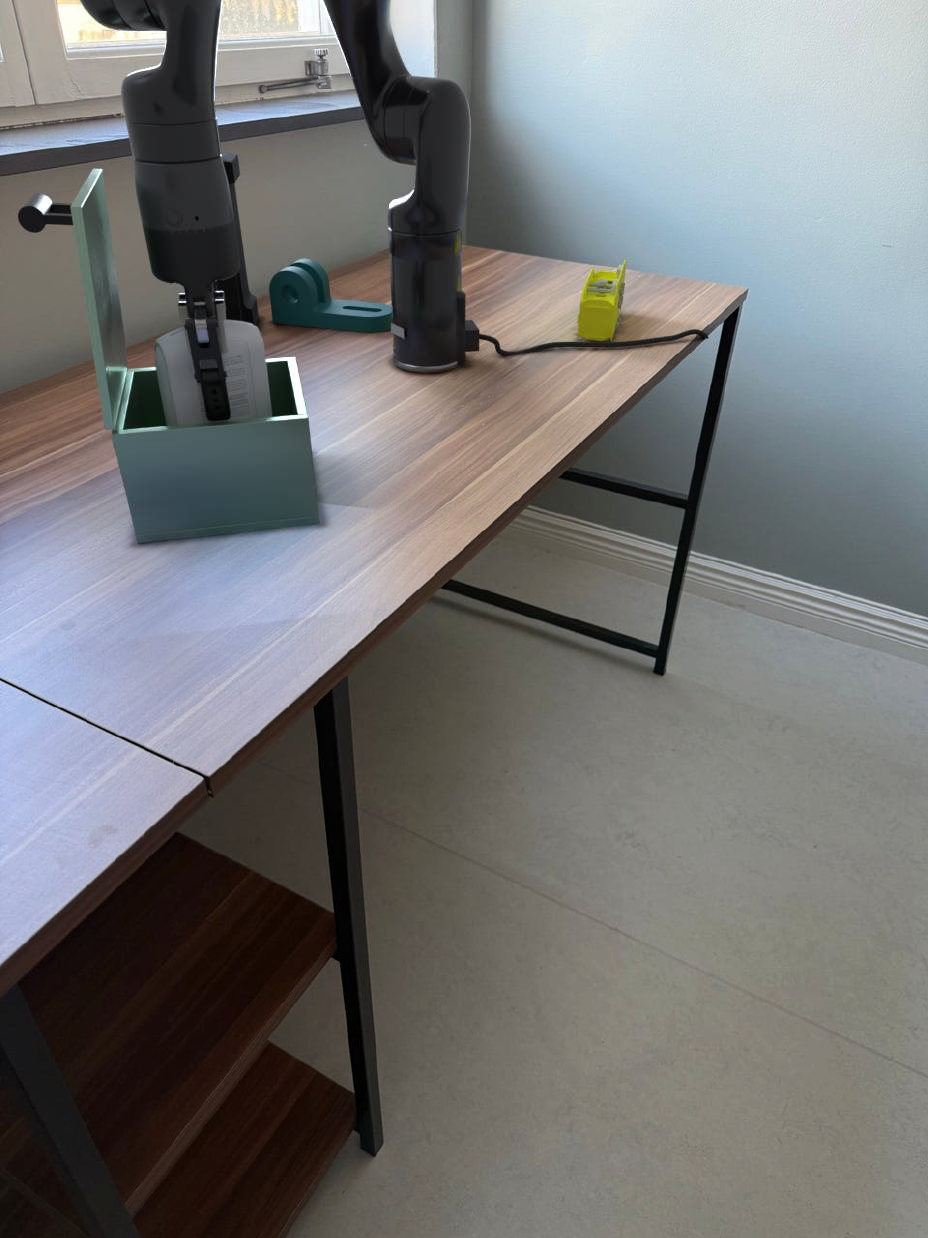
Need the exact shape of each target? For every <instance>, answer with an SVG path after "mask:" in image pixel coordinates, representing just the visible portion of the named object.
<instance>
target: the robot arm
mask: <svg viewBox="0 0 928 1238" xmlns="http://www.w3.org/2000/svg"><path fill="white" fill-rule="evenodd" d="M79 2H80V3H81V5H82V7H83V9H84V10H85V11H86V12H87V13H88V15H89V16H90V17H91V18H92V19H93V20H94V21H95V22H97V23H98V24H100V25H101V26H102V27H105V28H107V29H110V30H114V31H116V32H117V31H118V32H134V33H136V32H138V33H139V32H143V33H144V32H145V33H165V44H164V51H163V55H162V58H161V61H160V63H159V64H158V65H156V66H152V67H148V68H145V69H144V68H143V69H139V70H136V71H134V72H131V73H129V74H128V75H126V76H125V77H124V78H123V80H122V82H121V88H120V95H121V96H120V97H121V104H122V110H123V115H124V116H123V117H124V119H125V122H126V123H125V124H126V129H127V130H126V131H127V134H128V139H129V144H130V150H131V151H130V152H131V155H132V163H133V172H134V188H135V194H136V200H137V205H138V210H139V214H140V219H141V224H142V229H143V230H142V231H143V235H144V241H145V246H146V251H147V256H148V261H149V266H150V271H151V274H152V275H153V277H154V278H156V279H157V280H159V281H161V282H163V283H167V284H177V285H180V286H182V287H183V289H184V292H182V293H178V302H177V309H178V314H179V315H178V316H179V319H180V321H181V322H182V323H183V327H184V329H185V336H186V342H187V349H188V352H189V354H191V355H192V360H193V365H194V370H195V373H194V377H195V379H196V380H197V383H201V389H202V395H203V400H204V406H205V412H206V417H207V419H208V420H209V421H223V420H228V419H230V417H231V411H230V404H229V398H228V392H227V385H226V377H228V375H227V371H225V365H224V358H223V356H224V354H226V353H227V351H228V345H227V338H226V331H225V324H224V321H225V320H226V304H225V297H224V291H217V286H218V283H217V281H218V280H220V281H223V280H226V279H229V278H231V277H233V276H235V275H236V274H237V273H238V271H239V269H240V260H239V253H238V245H237V238H236V231H235V224H234V216H233V209H232V202H231V194H230V188H229V183H228V179H227V175H226V171H225V167H224V163H223V158H222V155H221V153H223V152H222V146H221V140H220V139H221V138H220V132H219V131H220V130H219V123H218V118H217V110H216V104H215V97H216V96H215V94H216V93H215V91H216V89H215V88H216V87H215V86H216V73H217V72H216V71H217V58H218V57H217V56H218V44H219V35H220V26H221V17H222V9H223V0H79ZM391 3H392V0H321V4H322V6H323V8H324V11H325V13H326V16H327V18H328V21H329V23H330V25H331V28H332V30H333V32H334V36H335V38H336V40H337V42H338V44H339V45H338V46H339V47H340V49H341V52H342V55H343V57H344V60H345V63H346V66H347V68H348V71H349V74H350V77H351V81H352V84H353V87H354V90H355V92H356V96H357V99H358V103H359V106H360V108H361V112H362V115H363V118H364V120H365V123H366V126H367V129H368V131H369V134H370V136H371V139H372V141H373V143H374V144H375V146H376V148H377V149H378V151H379V152H380V153H381V154H382V155H383V156H384V157H385V158H386V159H388V160H390V161H391V162H393V163H394V162H395V163H396V164H397V163H398V164H402V165H407V166H414V167H415V172H414V173H415V176H414V185H413V189H412V190H411V191H410V192H409V193H408V194H405V195H402V196H399V197H396V198H394V199H392V200H391V201H390V202H389V204H388V207H387V228H388V229H387V231H388V247H389V248H388V252H389V253H388V254H389V274H390V275H389V278H390V300H391V307H392V323H391V329H390V333H391V334H392V352H393V353H392V361H393V364H394V366H396V367H398V368H399V369H402V370H403V371H404V370H405V371H409V372H414V373H424V374H429V373H430V374H431V373H433V374H434V373H440V372H446V371H450V370H453V369H455V368H458V367H465V366H466V353H473V352H474V353H475V352H480V340H482V341H486V342H489V343H490V344H491V343H492V344H493V345H494V349H495V352H496V353H497V354H498V355H500V356H503V357H510V356H517V355H524V354H530V353H536V352H539V351H545V350H547V349H548V350H549V349H556V348H595V349H597V348H598V349H599V348H600V349H605V348H606V349H610V348H626V347H635V346H644V345H652V344H659V343H667V342H674V341H677V340H680V339H683V338H686V337H689V336H693V335H698V336H699V337H701V338H702V339H703V340H708V339H709V338H710V337H709V335H708V334H707V333H706V332H705V331H703V330H701V329H698V328H692V329H688V330H684V331H682V332H679V333H677V334H673V335H665V336H659V337H652V338H651V337H650V338H643V339H636V340H635V339H634V340H625V341H602V342H598V341H553V342H546V343H543V344H538V345H534V346H531V347H529V348H526V349H521V350H517V351H507V350H504V349H501V344H500V341H499V340H498V339H497V338H495V337H493V336H492V335H488V334H483V333H480V328H479V327H478V326H477V324H476V323H475V322H474V321H473V319H467V317H466V315H467V314H466V311H467V310H466V309H467V308H466V307H467V306H466V305H467V301H466V300H467V299H466V298H467V296H466V293H465V291H464V290H463V286H462V285H463V284H462V283H463V279H462V277H463V275H462V274H463V273H462V272H463V270H462V269H463V265H462V263H463V261H462V260H463V248H462V247H463V245H462V244H463V228H462V227H463V213H464V210H465V207H466V203H467V198H468V193H469V176H470V175H469V174H470V173H469V172H470V155H471V139H472V138H471V136H472V121H471V120H472V119H471V111H470V106H469V105H470V104H469V101H468V98H467V96H466V93H465V91H464V90H463V88H462V87H461V86H460V84H458V83H457V82H456V81H455V80H451V79H447V78H441V77H429V76H418V75H412V74H411V73H410V72H409V70H408V68H407V67H406V65H405V62H404V61H403V58H402V55H401V53H400V50H399V47H398V45H397V42H396V38H395V36H394V33H393V28H392V24H391ZM218 327H219V329H218ZM219 334H220V342H219ZM209 359H214V360H216V362H217V367H218V368H205V369H203V368H202V362H201V360H209Z"/></svg>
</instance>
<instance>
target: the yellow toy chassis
mask: <svg viewBox="0 0 928 1238" xmlns="http://www.w3.org/2000/svg"><path fill="white" fill-rule="evenodd" d="M626 270H627V259H624V260H623V262H622V264H618V266H617V269H616V271H612V270H611V271H610V270H598V271H597V272H595V266H591V269H590V271H589V274H588V276H587V278H586V280H585V282H584V284H583V288H582V290H581V298H580V303H579V312H578V315H577V321H576V322H577V335H576V336H577V337H576V338H577V339H579V338H580V337H581V338H583V339H584V340H588V341H589V340H590V341H591V342H608V341H609V342H613V338H614V334H615V332H616V331H619V330H620V325H621V322H622V316H621V315H620V314H621V310H622V305H623V303H624V294H625V289H626V288H625V287H626V282H625V279H626Z"/></svg>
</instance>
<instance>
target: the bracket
mask: <svg viewBox="0 0 928 1238" xmlns="http://www.w3.org/2000/svg"><path fill="white" fill-rule="evenodd" d="M268 293H269V303H270V311H271V318H272V324H281V325H291V326H299V327H300V326H302V327H309V328H321V329H330V330H339V331H350V332H358V333H359V332H361V333H380V332H385V331H389V330H391V323H392V305H390V304H387V303H381V302H370V301H360V300H349V299H338V298H333V297H332V296H331V287H330V279H329V276H328V274H327V271H326V270H325V269H324V267H323V266H322V265H321V264H319V263H318V261H316V260H313V259H311V258H300V259H297V260H296V261H294V262H293V263H291V264H289V265H288V266H286V267H284V268H283V269H281V270H279V271H278V272H276V273H275V274H274V275H273V276H272V277H271V279H270V282H269V285H268Z"/></svg>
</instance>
